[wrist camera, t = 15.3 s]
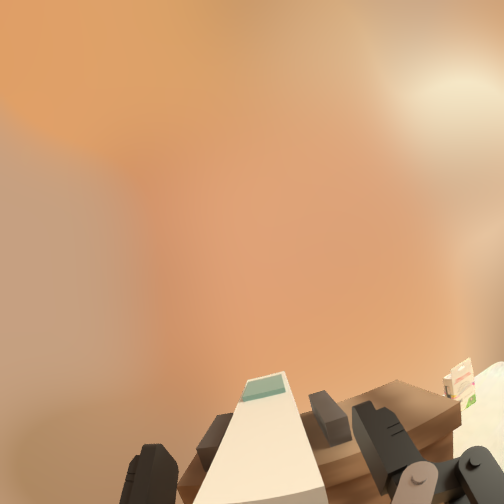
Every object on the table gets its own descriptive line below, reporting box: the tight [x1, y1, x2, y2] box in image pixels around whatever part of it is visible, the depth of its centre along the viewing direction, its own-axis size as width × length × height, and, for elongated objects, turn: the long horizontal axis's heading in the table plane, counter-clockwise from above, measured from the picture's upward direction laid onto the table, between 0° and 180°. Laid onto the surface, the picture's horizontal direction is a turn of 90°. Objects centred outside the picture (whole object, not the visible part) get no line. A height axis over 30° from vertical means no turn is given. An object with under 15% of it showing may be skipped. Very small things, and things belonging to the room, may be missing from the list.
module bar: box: [193, 371, 329, 504], centre depth 16 cm, size 4×23×4 cm, turn 177°
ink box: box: [443, 358, 476, 411], centre depth 55 cm, size 9×5×15 cm, turn 87°
